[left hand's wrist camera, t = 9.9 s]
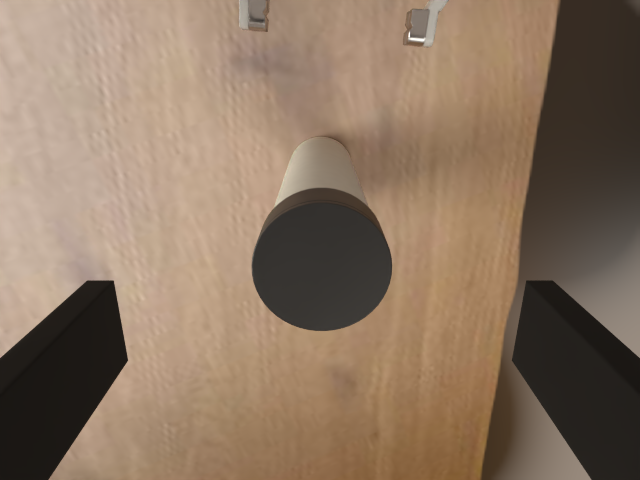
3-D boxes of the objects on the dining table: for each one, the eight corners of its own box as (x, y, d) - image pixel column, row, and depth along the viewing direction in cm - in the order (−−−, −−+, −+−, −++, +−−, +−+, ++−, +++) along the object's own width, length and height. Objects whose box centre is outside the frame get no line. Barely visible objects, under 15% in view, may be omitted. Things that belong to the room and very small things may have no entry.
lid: (340, 162, 18) (343, 174, 15) (406, 264, 19) (417, 288, 17) (234, 231, 19) (222, 252, 16) (304, 323, 20) (303, 353, 18)
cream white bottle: (330, 123, 33) (341, 179, 16) (364, 177, 35) (408, 282, 17) (276, 159, 34) (232, 249, 17) (312, 210, 36) (304, 341, 18)
